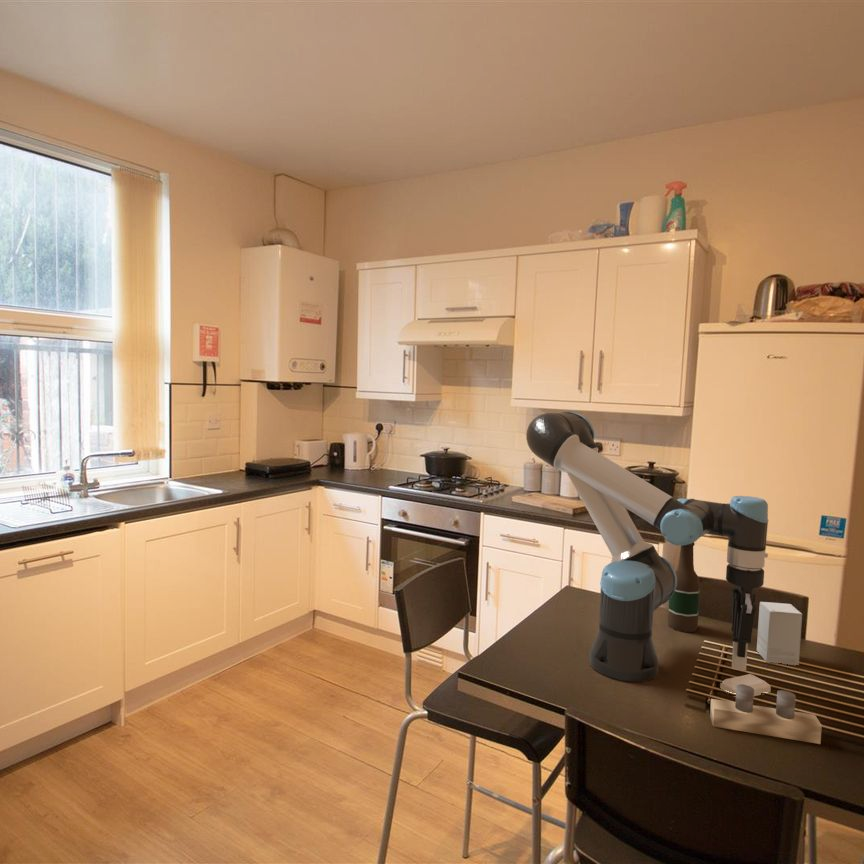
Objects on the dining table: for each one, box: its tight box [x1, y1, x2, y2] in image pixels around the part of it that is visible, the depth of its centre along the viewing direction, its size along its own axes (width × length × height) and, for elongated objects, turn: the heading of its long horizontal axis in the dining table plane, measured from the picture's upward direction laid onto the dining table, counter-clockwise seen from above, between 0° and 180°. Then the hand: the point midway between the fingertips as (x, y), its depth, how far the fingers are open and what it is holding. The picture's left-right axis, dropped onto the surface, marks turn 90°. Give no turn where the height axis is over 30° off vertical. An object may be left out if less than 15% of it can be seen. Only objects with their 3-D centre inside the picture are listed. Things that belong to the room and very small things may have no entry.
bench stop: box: [709, 684, 823, 745], centre depth 116 cm, size 18×4×8 cm, turn 74°
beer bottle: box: [667, 542, 701, 633], centre depth 166 cm, size 8×8×24 cm
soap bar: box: [719, 673, 772, 698], centre depth 131 cm, size 5×9×3 cm, turn 113°
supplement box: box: [756, 601, 803, 666], centre depth 148 cm, size 7×7×13 cm
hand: (738, 668), depth 139 cm, fingers closed
